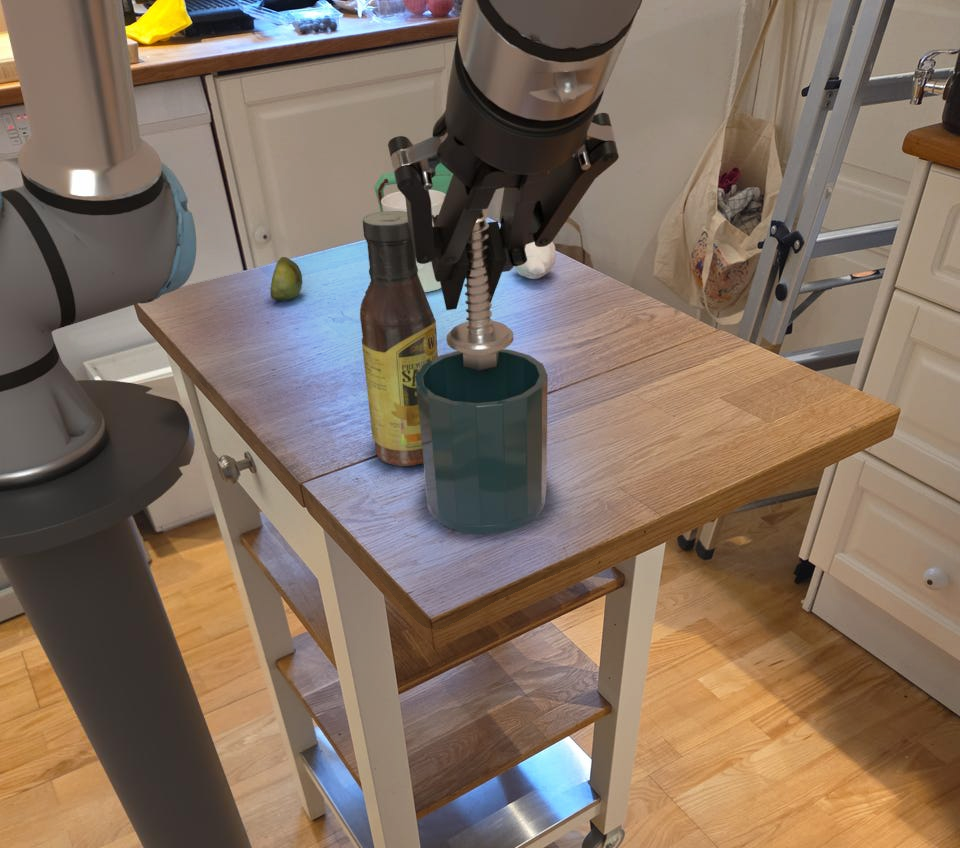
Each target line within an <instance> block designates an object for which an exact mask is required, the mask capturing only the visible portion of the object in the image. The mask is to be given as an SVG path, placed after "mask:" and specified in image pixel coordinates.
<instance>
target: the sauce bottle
mask: <svg viewBox="0 0 960 848" xmlns="http://www.w3.org/2000/svg"><path fill="white" fill-rule="evenodd" d="M362 230H363V237H364V240H365V241H366V244H367V253H368V256H367V257H368V263H369V264H368V265H369V269H368V275H369V278H370V282H369V285H368V286H367V289H366V290H365V293H364V294H365V295H364V296H363V298H362V300H361V304H360V309H359V319H360V328H361V334H362V335H361V336H362V338H361V347H362V356H363V365H364V374H365V383H366V391H367V399H368V400H367V401H368V402H367V403H368V411H369V419H370V428H371V437H372V440H373V441H374V447H375V453H376V456H377V457H378V458H379V460H380V461H381V462H384V463H386V464H388V465H392V466H397V467H412V466H418V465H421V464H423V455H422V445H421V435H420V424H419V414H418V403H417V393H416V382H415V376H416V374H417V373H418V372H419V370H420V369H421V367H422V366H423V365H424V364H426V363H428V362H430V361H431V360H433V359H435V358H437V357H438V356H439V354H438V352H439V351H438V333H437V320H436V318H435V316H434V313H433V311H432V307H431V306H430V303H429V301H428V298H427V295H426V292H424V290H423V287H422V285H421V282H420V279H419V277H418V268H417V265H416V256H415V252H414V247H413V243H412V239H411V234H410V230H409V225H408V217H407V212H404V211H384V212H381V211H378V212H373V213H370V214H367V215H365V216H364V217H363V218H362Z"/></svg>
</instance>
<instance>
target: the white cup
mask: <svg viewBox="0 0 960 848" xmlns="http://www.w3.org/2000/svg"><path fill="white" fill-rule="evenodd" d="M428 191H429V195H430V200H431V209H432V215H434V217H435V216H436V215H439V212H440V209H441V206H442V204H443V201H444V198H445V195H446V194H445V193H443V192H440V191H436V190H428ZM381 204H382V211H383V212H384V211H404V212H407V208H406V200H405V196H404V195H403V194H402V193H401V192H400V190H399V191H395V192H391V193H389V194H386V195H384V197H383V198H382V200H381ZM432 224H433V219H432ZM433 227H434V224H433ZM416 265H417V268H418V277H419V279H420V282H421V285H422V287H423V290H424V292H425V293H429V292H434V291H438V290H441V289H442V288H441V284H440V282H437V281H436V279H435V276H434V271H433V267H432V263H431V262H429V263H425V264H420V263H418V262H417V261H416Z"/></svg>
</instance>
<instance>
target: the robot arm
mask: <svg viewBox="0 0 960 848" xmlns="http://www.w3.org/2000/svg"><path fill="white" fill-rule="evenodd" d="M0 3H1V8H2V13H3V16H4V21H5V26H6V30H7V34H8V39H9V42H10V47H11V52H12V56H13V61H14V66H15V70H16V74H17V77H18V82H19V85H20V87H19V88H20V90H21V94H22V99H23V104H24V109H25V112H26V117H27V120H28V125H29V130H30V136H29V137H28V138H27V139H26V141H25V142H24V143H22V145H21V146H20V148H19V150H18V154H17V162H18V166H19V167H18V168H19V170H20V174H21V179H22V186H18V187H14V188H10V189H6V190H2V191H1V190H0V491H9V490H17V489H23V488H28V487H32V486H36V485H40V484H44V483H47V482H50V481H53V480H56V479H58V478H61V477H63V476H66V475H68V474H70V473H72V472H74V471H76V470H78V469H80V468H81V467H83V466H84V465H86V464H87V463H89V462H90V461H92V460H93V459H94V458H95V457H96V456H97V455H98V454H100V452H101V451H102V450H103V449H104V447H105V446H106V444H107V442H108V438H109V433H108V429H107V427H106V424H105V421H104V418H103V416H102V413H101V412H100V410H99V409H98V408H97V406H96V405H95V404H94V402H93V401H92V400H91V399H90V397H89V396H88V395H87V393H86V392H85V391H84V390H83V388H82V387H81V386H80V384H79V383H78V382H77V381H78V380H77V379H76V378H75V376H73V374H72V373H71V371H70V370H69V369H68V368H67V366H66V365H65V364H64V362H63V360H62V358H61V355H60V352H59V351H58V348H57V345H56V343H55V340H54V336H53V332H54V331H56V330H59V329H62V328H66V327H68V326H72V325H75V324H79V323H82V322H85V321H87V320H90V319H93V318H97V317H101V316H103V315H107V314H109V313H113V312H116V311H119V310H122V309H126V308H128V307H132V306H134V305H138V304H140V305H141V304H148V303H152V302H154V301H155V300H157V299H159V298H160V297H162V296H163V295H166V294H169V293H171V292H172V293H173V292H174V291H177V290H179V289H180V288H182V287H183V286H184V285H185V284H186V283H187V282H188V280H189V279H190V277H191V275H192V273H193V270H194V267H195V264H196V258H197V233H196V225H195V221H194V216H193V213H192V212H191V211H190V210H189V209H188V201H189V200H188V197H187V194H186V192H185V190H184V188H183V187H184V186H183V185H182V184H181V182H180V181H179V179H178V177H177V176H176V174H175V173H174V171H172V170H171V169H170V168H169V167H168V166H167V165H166V164H165V163H164V162H163V161H162V160H161V157H160V155H159V153H158V151H157V150H156V149H155V148H154V147H153V146H152V145H151V144H150V143H148V142H147V141H146V140H145V139H143V138H142V137H141V134H140V127H139V120H138V113H137V103H136V96H135V90H134V83H133V81H134V80H133V74H132V67H131V60H130V53H129V45H128V35H127V30H126V22H125V16H124V15H125V14H124V7H123V0H0ZM642 3H643V0H462V5H461V11H460V15H459V22H458V24H457V25H458V26H457V36H456V42H455V46H454V50H453V56H452V57H453V58H452V62H451V63H452V64H451V70H450V73H449V80H448V87H447V94H446V103H445V110H444V112H443V113H442V114H441V116H440V117H439V118H438V119H437V120H436V122H435V124H434V125H433V128H432V136H431V137H428V138H427V139H424V140H422V141H420V142H417V143H416V144H413V143H412V142H411V140H410V138H409V137H407V136H404V135H399V136H398V135H397V136H395V137H393V138H391V139H390V140H389V141H388V143H387V147H388V152H389V156H390V161H391V165H392V170H393V173H394V174H395V179H396V183H397V184H396V187H397V189H398V190H399V191H400V192H401V193H402V194H403V195H404V196H405V200H406V208H407V217H408V225H409V230H410V234H411V239H412V243H413V247H414V252H415V256H416V261H417V262H418V263H420V264H425V263H429V262H431V263H432V267H433V271H434V276H435V279H436V281H437V282H440V284H441V288H440V289H441V292H442V296H443V301H444V305H445V310H446V311H451V310H457V308H458V304H459V302H460V298H461V295H462V291H463V288H464V285H465V281H466V274H467V271H468V267H469V261H468V257H467V253H466V248H465V246H466V244H467V242H468V240H469V237H470V235H471V233H472V230H473V228H474V226H475V224H476V221H477V219H478V217H479V214H480V212H481V210H482V209H484V210H488V208H489V207H490V204H491V202H492V199H493V198H494V196H495V193H496V191H497V190H500V189H503V194H502V199H501V205H500V212H499V221H498V220H497V221H496V220H495V221H490V222H487V223H488V224H489V227H488V228H487V229H486V231H487V232H488V233H489V237H488V238H487V241H488V242H489V243H490V245H489V247H487V250H488V251H489V252H490V255H489V256H488V257H487V258H488V259H489V260H490V264H489V265H488V268H489V269H490V270H491V272H490V273H489V274H488V276H489V277H490V278H491V281H490V283H488V285H490V286H491V290H490V292H489V294H490V295H491V296H492V297H491V299H490V300H489V302H490V303H491V304H492V300H493V298H494V295H495V294H496V290H497V287H498V285H499V282H500V279H501V277H502V274H503V273H506V272H510V271H511V270H512V269H513V268H515V266H520V265H522V264H524V263H526V261H527V257H526V252H525V246H526V245H527V244H529V243H532V242H535V245H536V246H537V247H545V246H547V245H549V244H550V243H551V242H553V241H554V240H555V238H556V237H557V235H558V234H559V232H560V231H561V229H562V228H563V227H564V225H565V223H567V221H568V219H569V218H570V217H571V215H572V213H574V211H575V209H576V208H577V206H578V205H579V203H580V202H581V200H582V199H583V197H584V196H585V195H586V193H587V192H588V190H589V189H590V188H591V185H592V184H593V183H594V182H595V180H596V179H597V178H598V177H599V176H601V175H602V174H603V173H604V172H605V171H607V170H608V169H609V168H610V167H611V166H613V164H615V163H616V162H618V160H619V157H620V155H619V152H618V147H617V143H616V138H615V135H614V131H613V126H612V122H611V118H610V115H609V113H607V112H600V113H597V111H598V108H599V107H600V104H601V101H602V98H603V96H604V94H605V93H604V92H605V89H606V87H607V85H608V83H609V82H610V81H609V80H610V78H611V76H612V74H613V71H614V69H615V66H616V65H617V62H618V59H619V58H620V55H621V53H622V50H623V48H624V46H625V44H626V41H627V38H628V36H629V34H630V32H631V29H632V27H633V24H634V21H635V18H636V16H637V14H638V11H639V10H640V8H641V6H642ZM596 113H597V114H596ZM439 163H442V164H443V165H444V166H445V167H446V168H447V169H448V170H449V171H450V172H451V173H453V176H452V179H451V181H450V184H449V187H448V190H447V193H446V195H445V198H444V201H443V204H442V206H441V209H440V212H439V215H436V216H435V217H434V215H432V209H431V200H430V195H429V191H428V190H430V189H431V188H432V187H433V183H432V178H433V177H434V176H435V174H436V172H435V168H436V166H437V165H438V164H439ZM432 219H433V224H434V227H433V224H432ZM499 223H500V224H499Z"/></svg>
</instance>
